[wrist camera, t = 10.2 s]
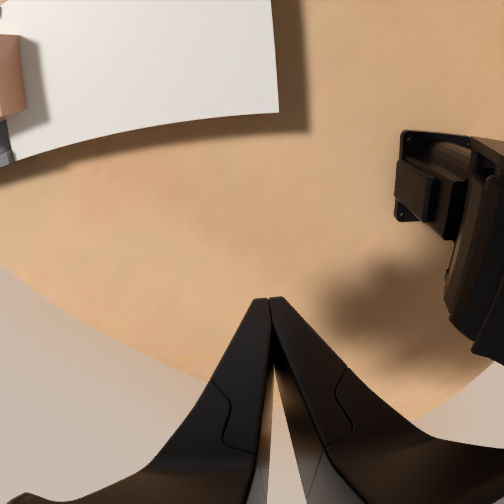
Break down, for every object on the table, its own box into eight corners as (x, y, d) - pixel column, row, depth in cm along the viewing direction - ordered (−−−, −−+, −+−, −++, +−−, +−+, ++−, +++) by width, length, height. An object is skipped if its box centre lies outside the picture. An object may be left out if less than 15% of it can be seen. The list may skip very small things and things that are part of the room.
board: (259, -53, 12) (262, -73, 9) (272, 108, 17) (278, 112, 14) (24, 9, 12) (-1, 5, 9) (38, 149, 17) (14, 161, 15)
